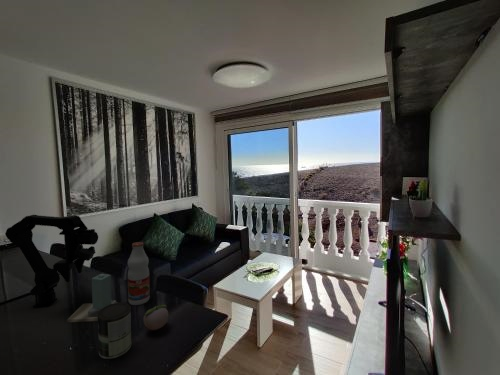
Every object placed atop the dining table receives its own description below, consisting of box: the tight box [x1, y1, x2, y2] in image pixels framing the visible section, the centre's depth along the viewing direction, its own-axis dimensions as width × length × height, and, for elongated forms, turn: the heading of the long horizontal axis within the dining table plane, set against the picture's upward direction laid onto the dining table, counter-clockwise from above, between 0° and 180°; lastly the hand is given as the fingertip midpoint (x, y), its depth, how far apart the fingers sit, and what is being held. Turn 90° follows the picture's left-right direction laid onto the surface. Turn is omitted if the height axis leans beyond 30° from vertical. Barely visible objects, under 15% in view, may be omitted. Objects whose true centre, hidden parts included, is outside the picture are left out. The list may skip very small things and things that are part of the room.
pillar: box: [91, 273, 113, 309], centre depth 108 cm, size 5×5×14 cm
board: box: [66, 299, 119, 323], centre depth 109 cm, size 16×12×4 cm
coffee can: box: [97, 302, 132, 360], centre depth 88 cm, size 10×10×14 cm
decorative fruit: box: [143, 304, 169, 331], centre depth 98 cm, size 9×8×10 cm
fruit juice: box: [127, 241, 151, 306], centre depth 119 cm, size 9×9×28 cm
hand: (74, 277), depth 115 cm, fingers open, 9 cm apart
